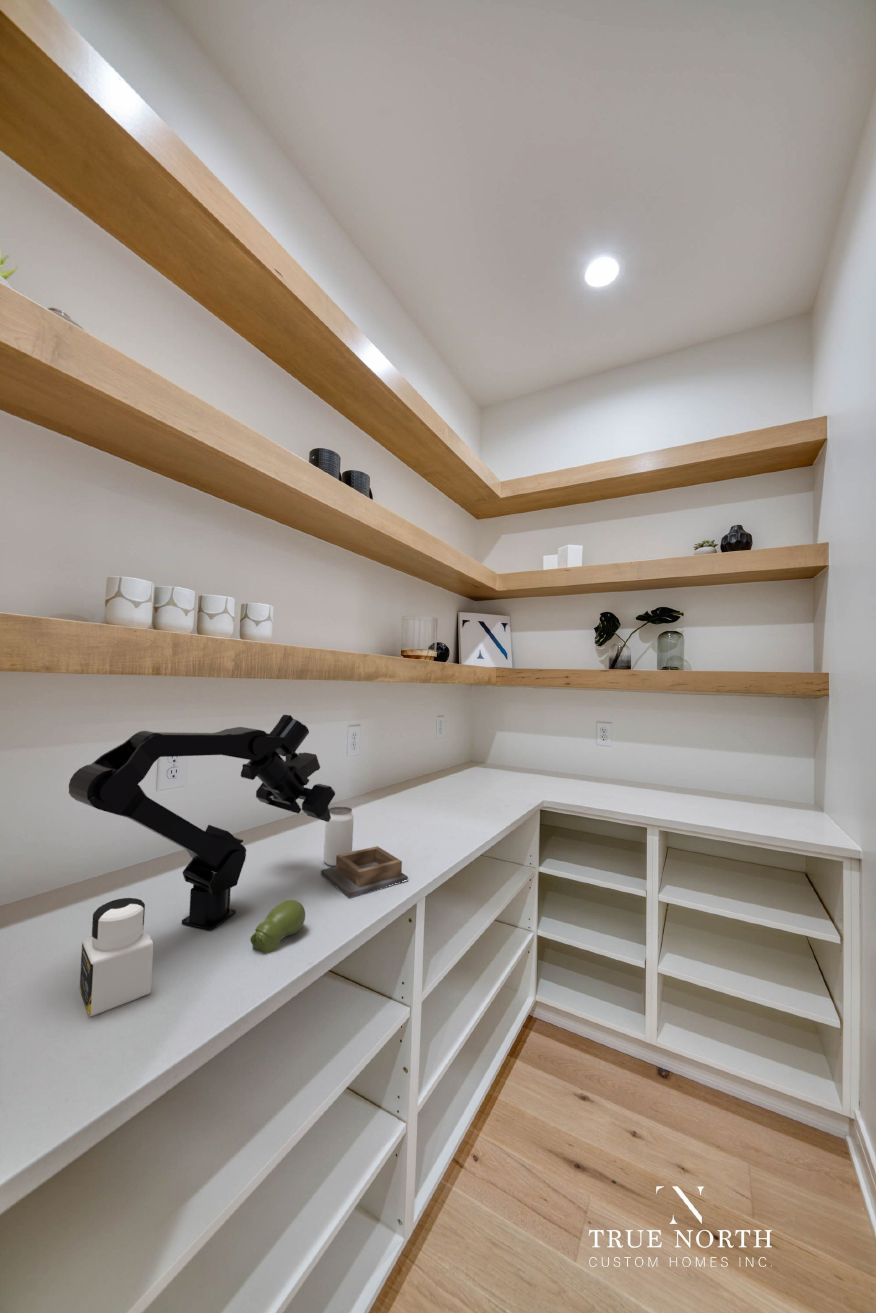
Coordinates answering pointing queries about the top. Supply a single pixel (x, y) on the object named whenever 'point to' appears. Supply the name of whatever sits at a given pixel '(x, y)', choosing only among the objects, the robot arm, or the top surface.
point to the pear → (278, 925)
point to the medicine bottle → (116, 957)
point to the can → (338, 834)
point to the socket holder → (364, 871)
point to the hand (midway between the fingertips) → (314, 815)
